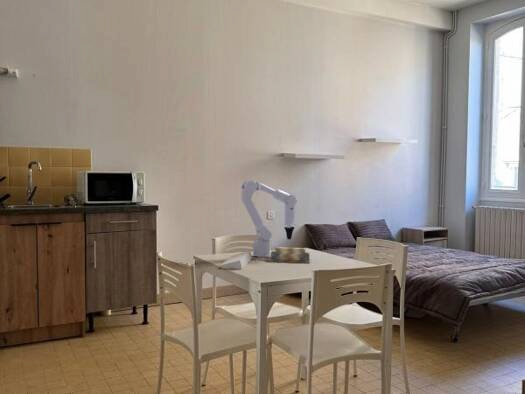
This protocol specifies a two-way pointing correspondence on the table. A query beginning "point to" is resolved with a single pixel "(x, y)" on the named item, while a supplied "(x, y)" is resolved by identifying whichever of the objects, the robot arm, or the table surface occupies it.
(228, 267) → the decorative molding
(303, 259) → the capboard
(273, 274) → the table surface
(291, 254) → the slat
